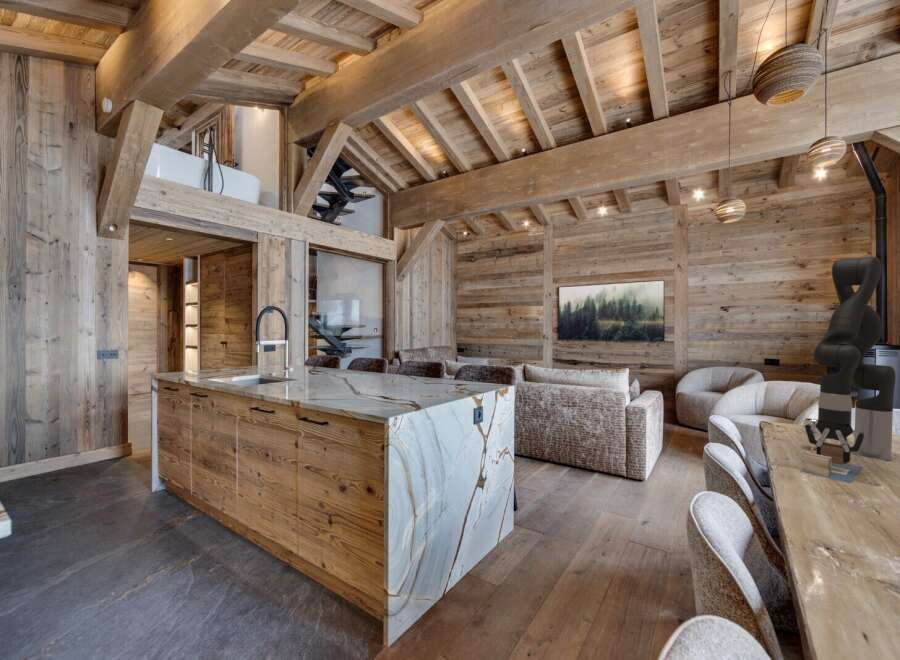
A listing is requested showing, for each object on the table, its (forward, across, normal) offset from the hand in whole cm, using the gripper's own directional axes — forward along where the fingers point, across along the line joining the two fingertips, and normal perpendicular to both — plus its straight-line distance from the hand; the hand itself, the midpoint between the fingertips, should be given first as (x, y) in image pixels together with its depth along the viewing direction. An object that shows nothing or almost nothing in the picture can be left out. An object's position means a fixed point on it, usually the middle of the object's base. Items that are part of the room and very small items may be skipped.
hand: (832, 460), depth 125 cm
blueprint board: (+4, 0, 0) cm, 4 cm away
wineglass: (+4, +9, -23) cm, 25 cm away
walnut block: (0, 0, 0) cm, 0 cm away
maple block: (+3, +2, +8) cm, 9 cm away
